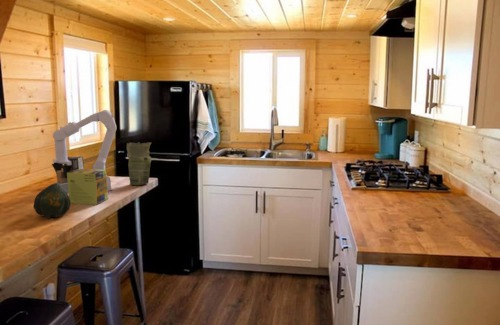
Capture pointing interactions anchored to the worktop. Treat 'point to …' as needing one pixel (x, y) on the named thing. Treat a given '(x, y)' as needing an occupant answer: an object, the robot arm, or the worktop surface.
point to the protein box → (87, 186)
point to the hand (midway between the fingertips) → (63, 177)
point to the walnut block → (61, 177)
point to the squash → (52, 201)
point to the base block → (64, 186)
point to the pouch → (139, 163)
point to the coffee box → (76, 163)
